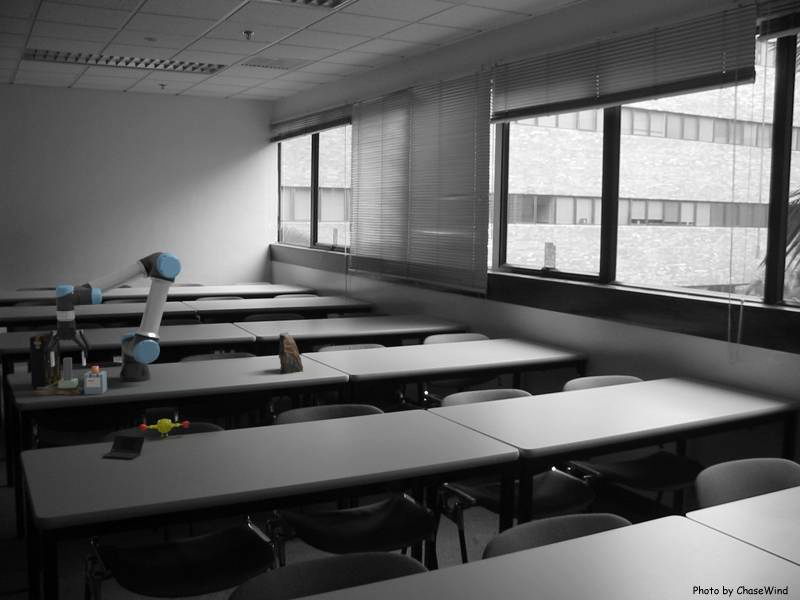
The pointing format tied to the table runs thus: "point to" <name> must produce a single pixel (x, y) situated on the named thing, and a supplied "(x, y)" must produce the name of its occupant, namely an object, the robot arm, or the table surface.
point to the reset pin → (95, 370)
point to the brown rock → (289, 355)
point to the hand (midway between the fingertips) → (68, 365)
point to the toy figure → (164, 426)
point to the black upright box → (44, 362)
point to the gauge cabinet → (95, 382)
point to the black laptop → (125, 448)
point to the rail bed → (56, 390)
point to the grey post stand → (67, 375)
